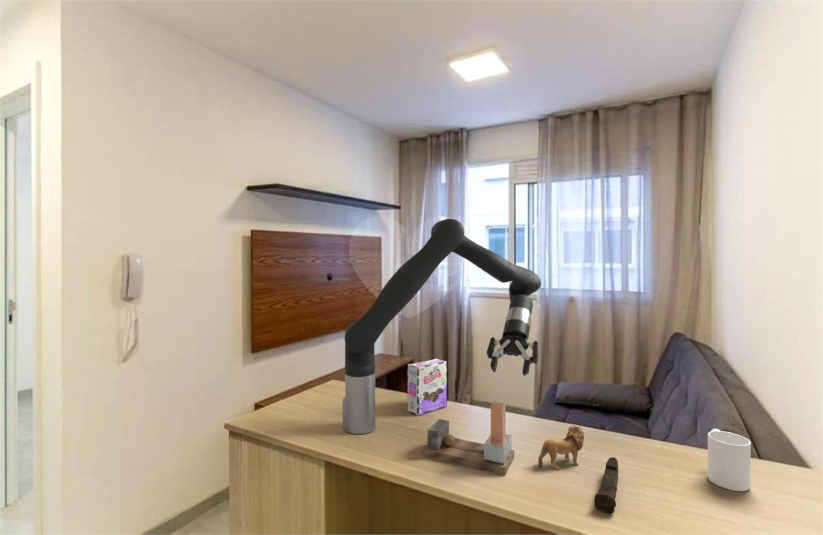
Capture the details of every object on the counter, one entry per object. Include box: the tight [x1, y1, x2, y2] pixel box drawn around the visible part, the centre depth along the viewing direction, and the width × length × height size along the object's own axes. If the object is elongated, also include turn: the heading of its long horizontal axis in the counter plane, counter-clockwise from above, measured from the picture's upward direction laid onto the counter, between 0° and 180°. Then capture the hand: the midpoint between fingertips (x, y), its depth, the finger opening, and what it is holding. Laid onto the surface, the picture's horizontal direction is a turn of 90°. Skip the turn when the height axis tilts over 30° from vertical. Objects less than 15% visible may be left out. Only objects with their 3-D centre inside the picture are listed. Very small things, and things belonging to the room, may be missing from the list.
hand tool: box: [593, 456, 619, 515], centre depth 92 cm, size 19×4×5 cm, turn 146°
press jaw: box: [483, 401, 513, 464], centre depth 104 cm, size 5×8×13 cm, turn 153°
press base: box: [422, 418, 515, 477], centre depth 108 cm, size 22×10×7 cm, turn 63°
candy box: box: [406, 358, 448, 416], centre depth 143 cm, size 14×6×16 cm, turn 129°
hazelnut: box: [444, 433, 455, 446], centre depth 110 cm, size 3×3×3 cm
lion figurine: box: [537, 424, 585, 471], centre depth 104 cm, size 15×5×9 cm, turn 117°
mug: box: [707, 428, 752, 492], centre depth 97 cm, size 12×8×10 cm, turn 164°
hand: (508, 372), depth 114 cm, fingers open, 8 cm apart
